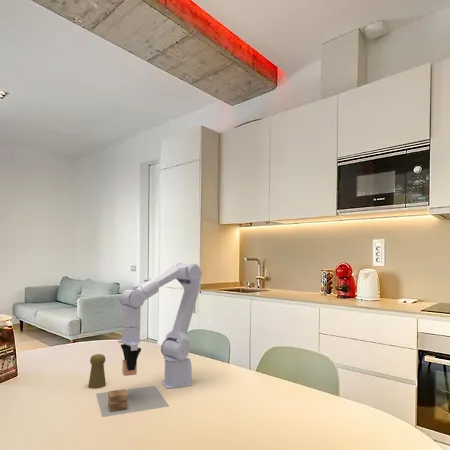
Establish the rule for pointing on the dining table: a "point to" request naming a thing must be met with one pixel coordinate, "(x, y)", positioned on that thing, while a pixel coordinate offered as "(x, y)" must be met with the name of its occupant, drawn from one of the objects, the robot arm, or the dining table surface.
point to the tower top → (117, 396)
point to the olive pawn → (97, 372)
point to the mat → (134, 401)
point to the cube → (125, 370)
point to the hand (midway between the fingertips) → (130, 368)
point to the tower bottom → (117, 406)
